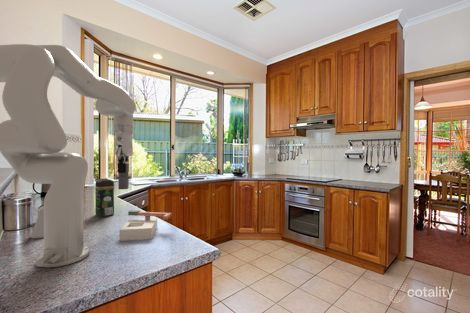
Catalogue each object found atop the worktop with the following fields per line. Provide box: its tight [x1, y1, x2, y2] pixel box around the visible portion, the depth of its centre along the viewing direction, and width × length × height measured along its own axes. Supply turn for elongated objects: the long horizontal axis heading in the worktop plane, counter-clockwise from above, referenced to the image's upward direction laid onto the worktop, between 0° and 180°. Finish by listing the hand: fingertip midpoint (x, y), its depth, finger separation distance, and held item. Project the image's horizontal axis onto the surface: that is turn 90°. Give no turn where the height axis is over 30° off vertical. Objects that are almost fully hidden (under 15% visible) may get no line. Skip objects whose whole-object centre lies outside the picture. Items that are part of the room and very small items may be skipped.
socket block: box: [118, 216, 158, 242], centre depth 89 cm, size 14×11×6 cm
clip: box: [127, 209, 173, 220], centre depth 93 cm, size 18×6×2 cm, turn 83°
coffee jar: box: [94, 177, 115, 218], centre depth 116 cm, size 10×8×19 cm
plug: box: [115, 160, 132, 190], centre depth 99 cm, size 6×6×12 cm
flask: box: [29, 209, 44, 239], centre depth 86 cm, size 7×7×10 cm
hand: (123, 171), depth 99 cm, fingers closed on plug, 4 cm apart
